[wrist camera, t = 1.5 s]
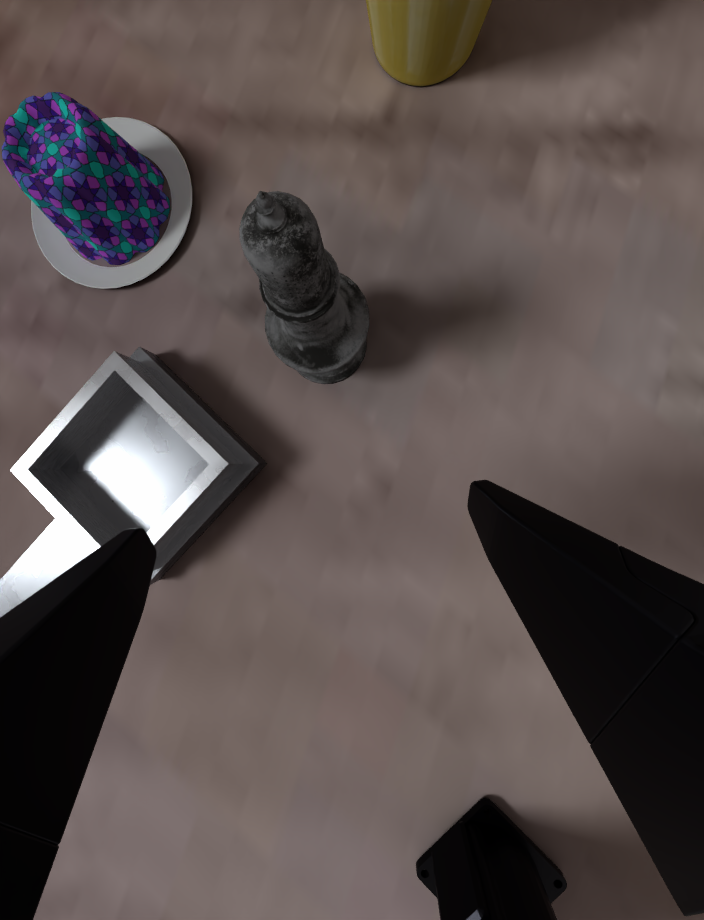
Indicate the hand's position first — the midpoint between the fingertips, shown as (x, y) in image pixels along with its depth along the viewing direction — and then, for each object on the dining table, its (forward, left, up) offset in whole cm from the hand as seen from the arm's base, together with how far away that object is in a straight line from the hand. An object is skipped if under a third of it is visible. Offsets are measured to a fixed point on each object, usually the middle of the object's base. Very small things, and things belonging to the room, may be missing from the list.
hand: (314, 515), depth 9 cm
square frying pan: (+11, +17, -12) cm, 24 cm away
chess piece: (+8, -6, -12) cm, 16 cm away
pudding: (+26, -3, -13) cm, 29 cm away
